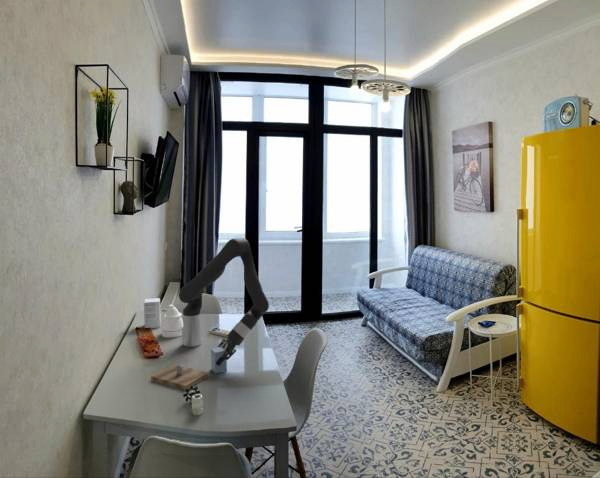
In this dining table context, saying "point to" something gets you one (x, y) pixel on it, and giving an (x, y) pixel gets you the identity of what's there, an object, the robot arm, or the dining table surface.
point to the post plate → (179, 376)
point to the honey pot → (172, 323)
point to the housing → (215, 355)
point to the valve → (195, 400)
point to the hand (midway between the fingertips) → (215, 362)
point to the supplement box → (152, 313)
